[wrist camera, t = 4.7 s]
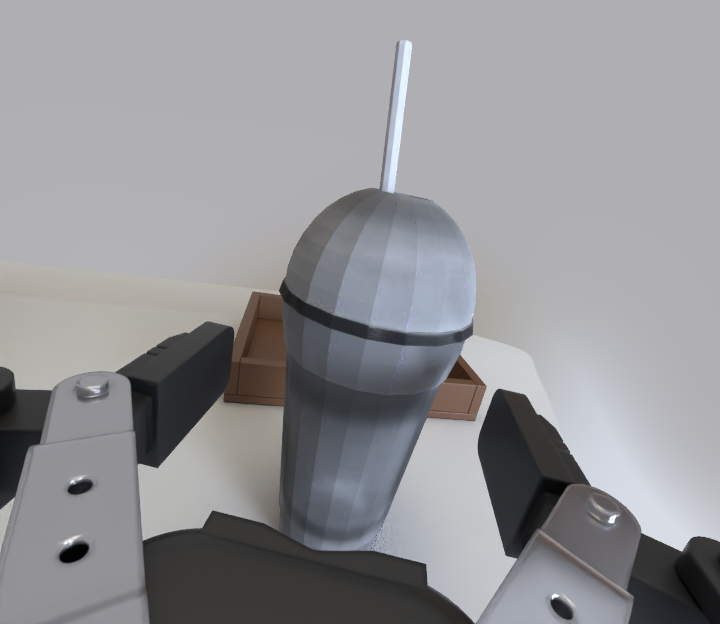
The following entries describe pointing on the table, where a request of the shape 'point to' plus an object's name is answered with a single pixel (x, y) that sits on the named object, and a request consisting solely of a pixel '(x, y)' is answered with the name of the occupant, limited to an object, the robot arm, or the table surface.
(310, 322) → the beverage cup
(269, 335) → the tray
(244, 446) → the table surface
